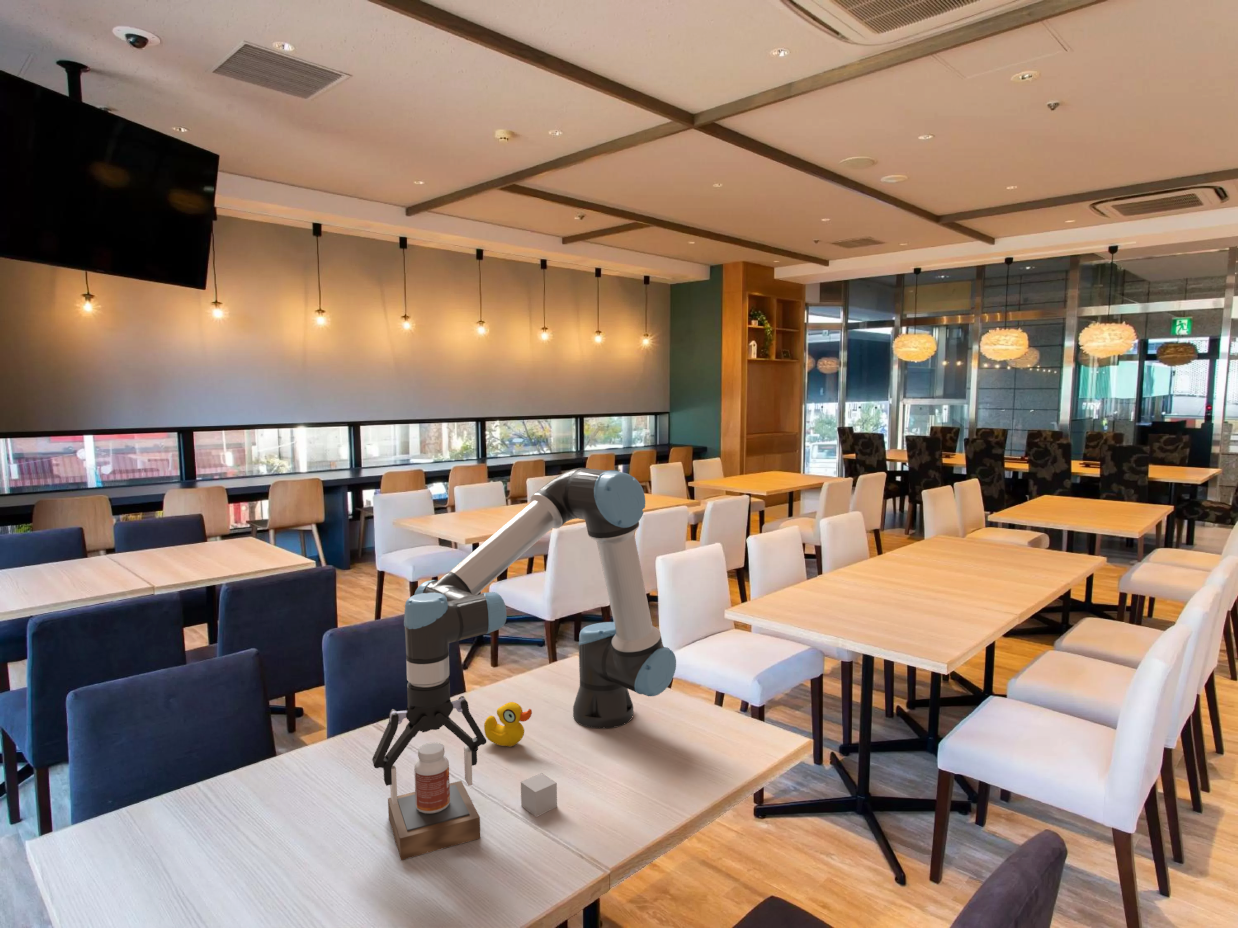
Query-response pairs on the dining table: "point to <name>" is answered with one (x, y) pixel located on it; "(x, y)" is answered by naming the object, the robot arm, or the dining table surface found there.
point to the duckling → (507, 725)
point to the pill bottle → (432, 779)
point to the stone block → (538, 794)
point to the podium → (433, 823)
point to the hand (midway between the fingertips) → (432, 790)
